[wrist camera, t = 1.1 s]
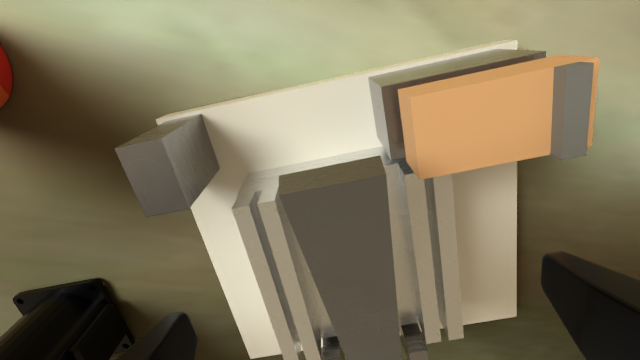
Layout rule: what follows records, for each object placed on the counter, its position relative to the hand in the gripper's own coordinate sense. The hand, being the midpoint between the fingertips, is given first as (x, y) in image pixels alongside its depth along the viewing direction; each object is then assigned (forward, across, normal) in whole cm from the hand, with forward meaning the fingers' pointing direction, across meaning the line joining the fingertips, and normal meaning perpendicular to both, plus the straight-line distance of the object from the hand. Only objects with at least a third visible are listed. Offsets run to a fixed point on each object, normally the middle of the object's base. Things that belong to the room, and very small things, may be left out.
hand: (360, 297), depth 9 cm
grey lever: (+5, 0, +4) cm, 7 cm away
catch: (+7, -6, -2) cm, 9 cm away
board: (+13, 0, +5) cm, 14 cm away
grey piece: (+11, 0, +4) cm, 12 cm away
